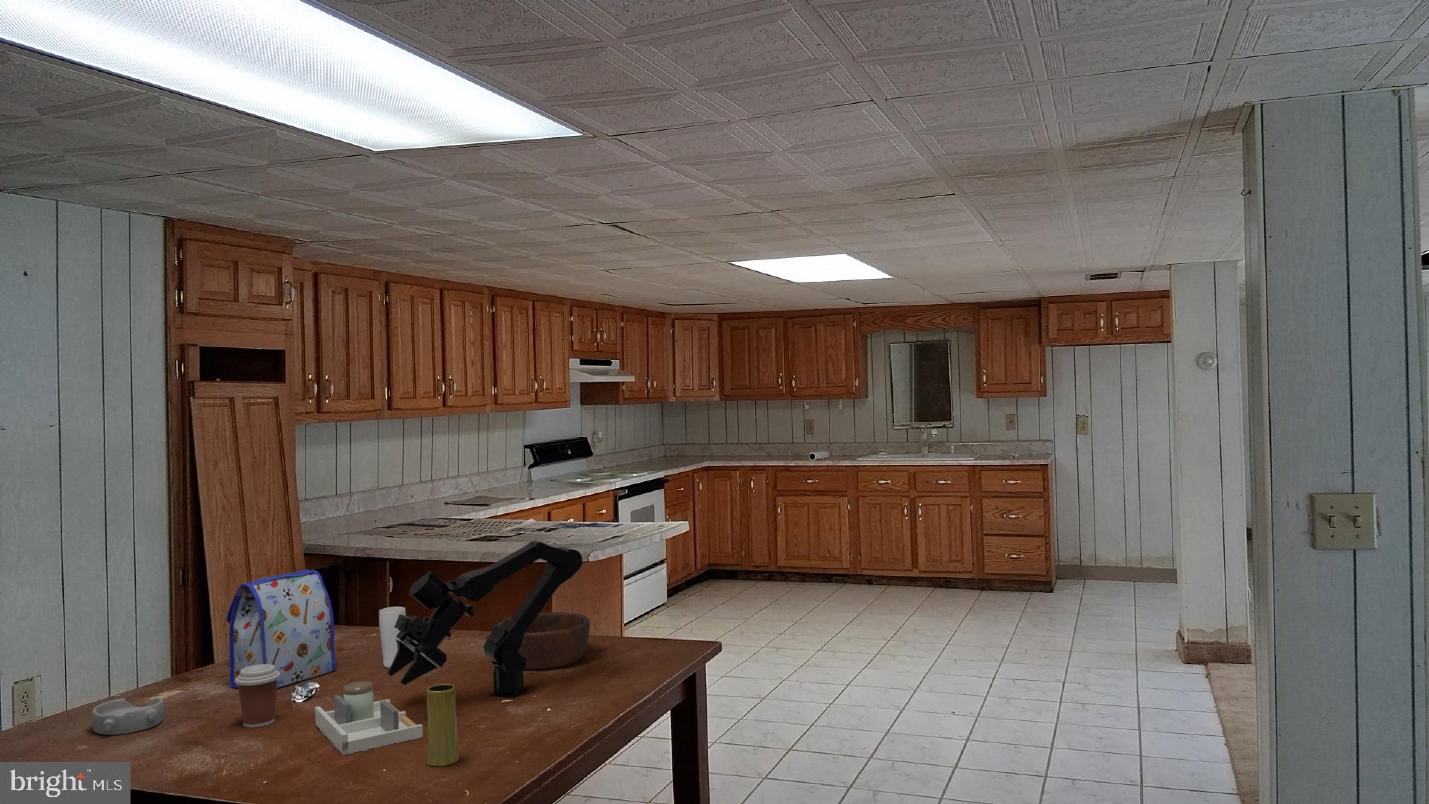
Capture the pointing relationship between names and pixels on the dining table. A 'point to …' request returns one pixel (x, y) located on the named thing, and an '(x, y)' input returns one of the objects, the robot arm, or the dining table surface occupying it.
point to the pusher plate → (341, 710)
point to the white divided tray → (368, 729)
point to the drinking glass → (389, 632)
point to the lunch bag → (282, 627)
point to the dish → (126, 716)
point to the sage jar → (359, 700)
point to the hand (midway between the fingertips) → (395, 679)
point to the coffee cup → (258, 694)
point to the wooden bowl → (554, 640)
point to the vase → (442, 725)
